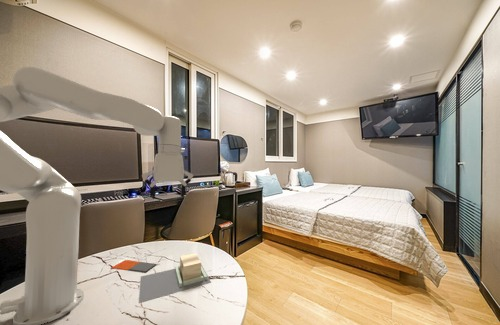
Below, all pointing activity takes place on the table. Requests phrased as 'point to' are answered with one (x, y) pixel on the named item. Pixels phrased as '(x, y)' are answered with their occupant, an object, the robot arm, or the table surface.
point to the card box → (190, 266)
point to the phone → (134, 266)
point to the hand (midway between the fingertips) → (168, 197)
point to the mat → (168, 283)
